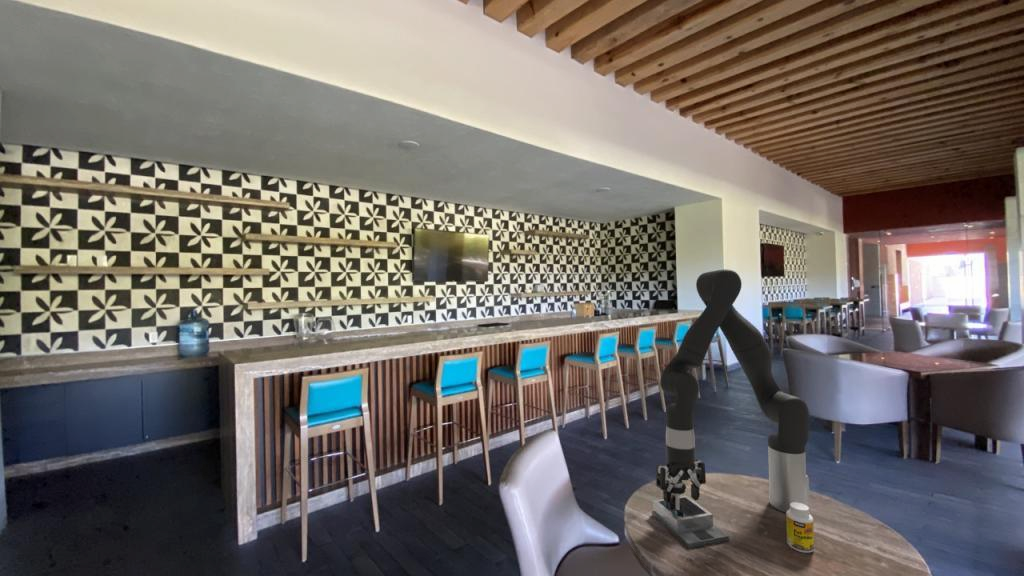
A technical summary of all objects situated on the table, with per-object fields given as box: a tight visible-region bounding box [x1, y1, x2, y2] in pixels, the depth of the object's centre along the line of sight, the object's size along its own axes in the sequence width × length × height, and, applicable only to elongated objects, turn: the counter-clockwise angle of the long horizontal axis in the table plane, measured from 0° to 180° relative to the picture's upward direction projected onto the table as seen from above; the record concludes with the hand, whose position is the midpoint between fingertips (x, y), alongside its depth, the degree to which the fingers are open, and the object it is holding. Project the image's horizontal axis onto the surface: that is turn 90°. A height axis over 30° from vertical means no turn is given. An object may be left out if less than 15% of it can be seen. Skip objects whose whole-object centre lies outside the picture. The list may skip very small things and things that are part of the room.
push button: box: [667, 477, 687, 518], centre depth 114 cm, size 7×5×10 cm
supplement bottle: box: [785, 502, 815, 554], centre depth 102 cm, size 6×6×10 cm
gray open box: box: [651, 495, 730, 550], centre depth 112 cm, size 12×16×4 cm
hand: (681, 501), depth 114 cm, fingers open, 8 cm apart
